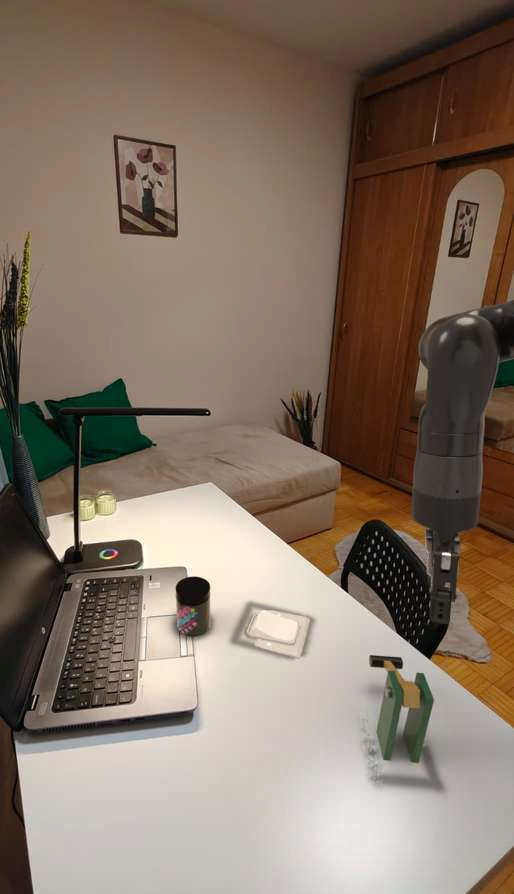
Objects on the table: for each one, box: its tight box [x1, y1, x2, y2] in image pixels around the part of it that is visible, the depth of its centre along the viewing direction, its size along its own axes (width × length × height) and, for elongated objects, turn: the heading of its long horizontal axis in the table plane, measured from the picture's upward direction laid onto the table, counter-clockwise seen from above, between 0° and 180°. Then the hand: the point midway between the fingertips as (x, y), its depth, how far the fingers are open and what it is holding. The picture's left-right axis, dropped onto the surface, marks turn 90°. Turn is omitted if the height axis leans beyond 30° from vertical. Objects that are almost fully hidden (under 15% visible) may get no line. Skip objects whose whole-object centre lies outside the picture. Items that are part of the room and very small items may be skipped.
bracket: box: [376, 671, 435, 764], centre depth 63 cm, size 10×8×14 cm
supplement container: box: [175, 575, 211, 638], centre depth 87 cm, size 7×7×10 cm
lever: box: [368, 654, 420, 709], centre depth 67 cm, size 13×5×2 cm, turn 176°
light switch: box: [246, 609, 311, 659], centre depth 87 cm, size 11×4×13 cm
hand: (437, 602), depth 58 cm, fingers open, 8 cm apart
